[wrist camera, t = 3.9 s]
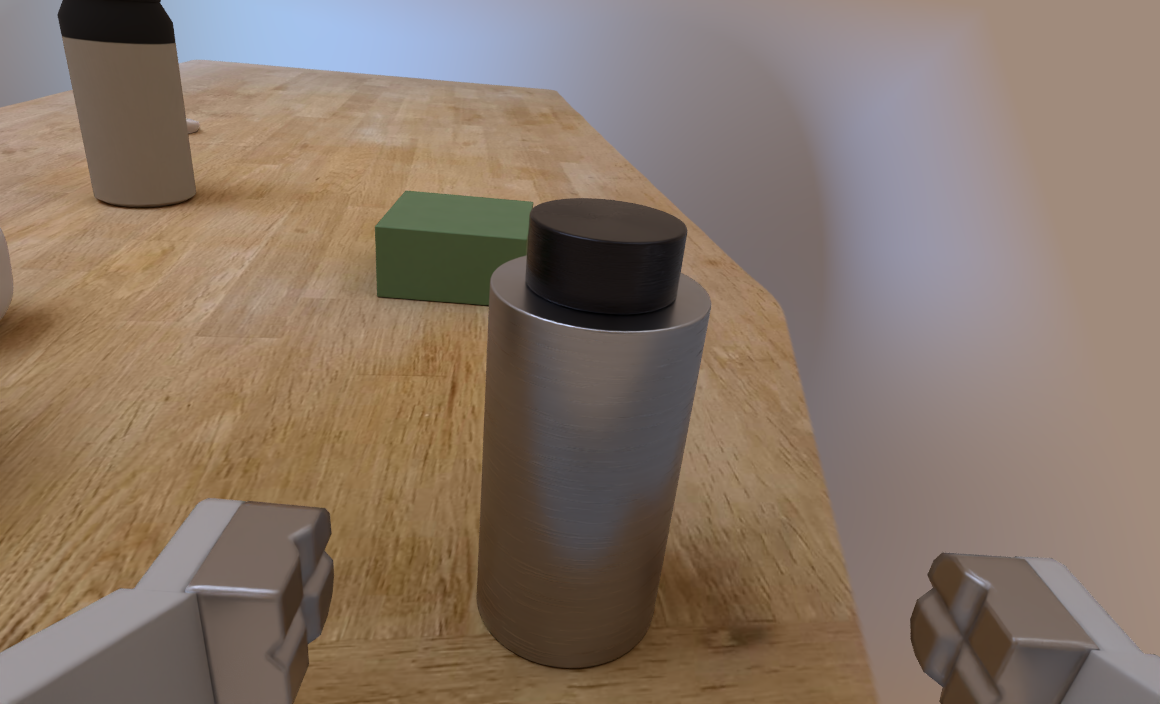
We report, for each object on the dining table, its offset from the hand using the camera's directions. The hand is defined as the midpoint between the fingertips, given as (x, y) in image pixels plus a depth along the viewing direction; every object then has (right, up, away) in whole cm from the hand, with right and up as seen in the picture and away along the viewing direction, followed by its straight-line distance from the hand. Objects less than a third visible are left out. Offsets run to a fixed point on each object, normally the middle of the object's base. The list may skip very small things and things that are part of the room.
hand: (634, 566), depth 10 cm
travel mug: (-40, +17, +55) cm, 70 cm away
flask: (-1, -6, +16) cm, 17 cm away
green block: (-10, +9, +44) cm, 46 cm away
